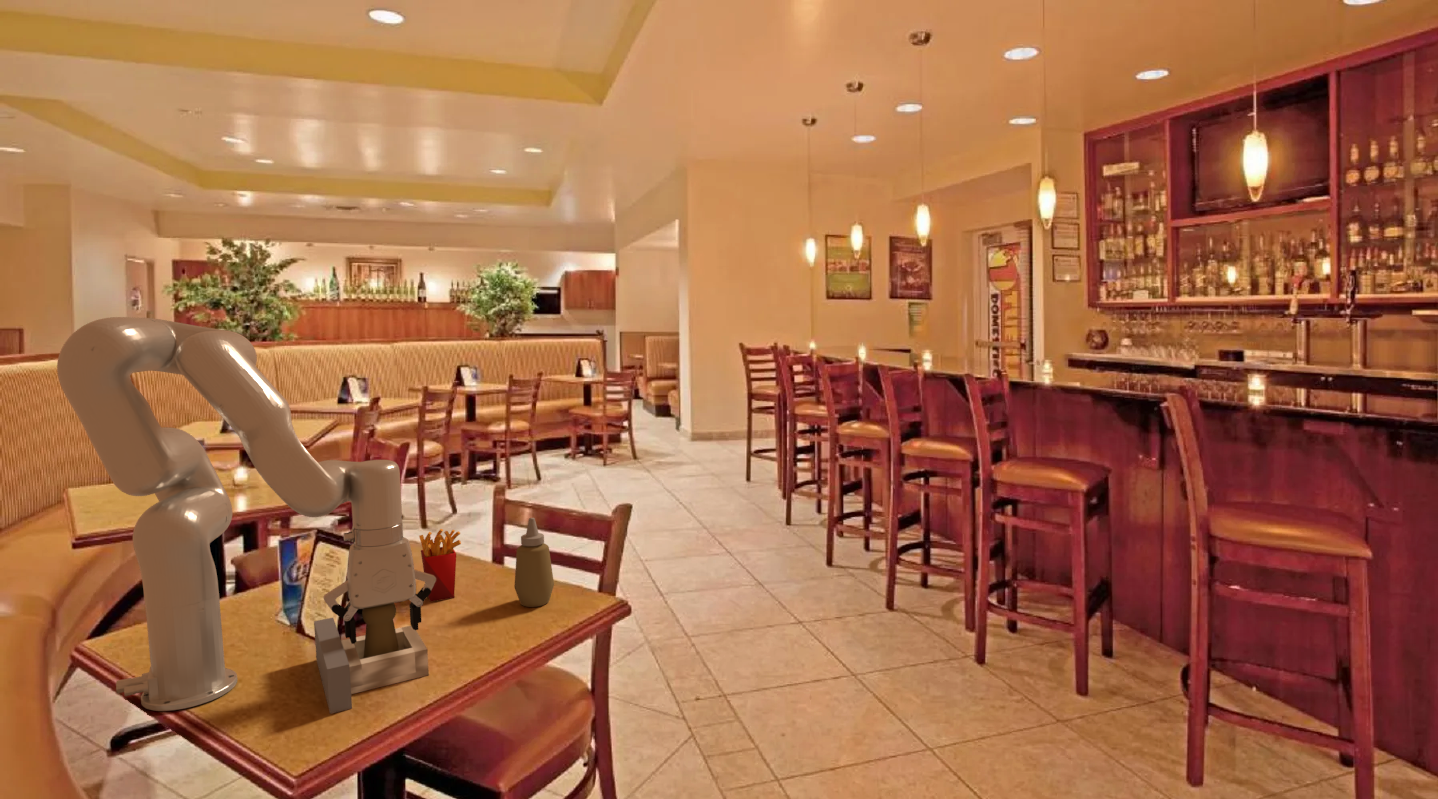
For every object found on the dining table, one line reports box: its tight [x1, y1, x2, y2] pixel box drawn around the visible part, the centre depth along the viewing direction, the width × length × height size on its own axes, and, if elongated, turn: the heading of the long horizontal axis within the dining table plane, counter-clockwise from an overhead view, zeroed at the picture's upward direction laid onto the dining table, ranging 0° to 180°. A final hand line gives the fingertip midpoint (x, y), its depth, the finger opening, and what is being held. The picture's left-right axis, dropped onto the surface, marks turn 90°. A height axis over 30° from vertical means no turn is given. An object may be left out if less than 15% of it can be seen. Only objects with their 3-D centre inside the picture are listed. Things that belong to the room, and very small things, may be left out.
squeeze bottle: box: [514, 517, 555, 608], centre depth 158 cm, size 8×8×18 cm
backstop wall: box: [313, 617, 353, 715], centre depth 124 cm, size 3×22×7 cm, turn 32°
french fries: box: [418, 528, 462, 603], centre depth 162 cm, size 9×8×15 cm
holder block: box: [341, 625, 430, 695], centre depth 128 cm, size 12×12×4 cm
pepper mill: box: [361, 603, 399, 659], centre depth 128 cm, size 6×6×11 cm
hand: (384, 634), depth 128 cm, fingers open, 9 cm apart
